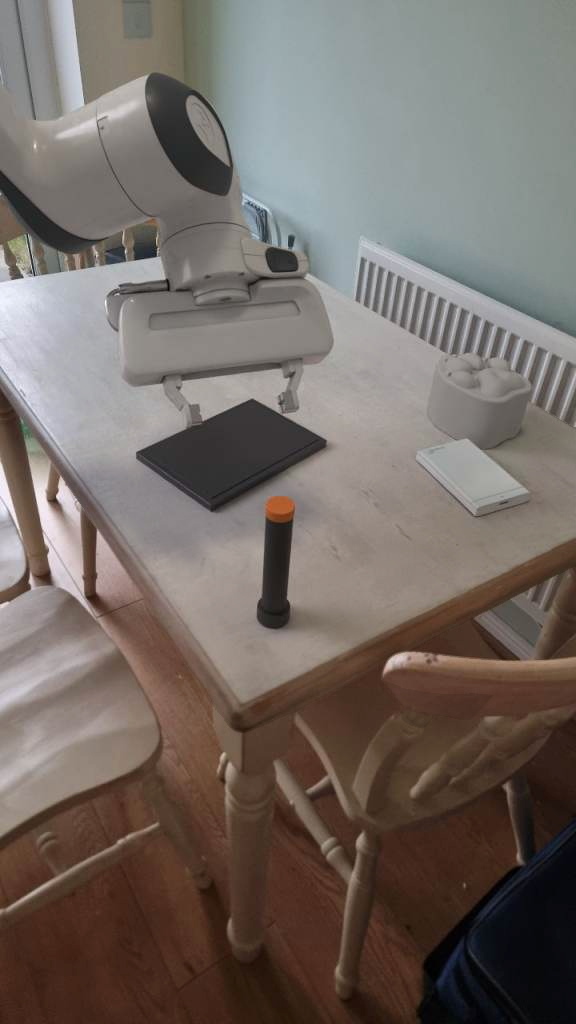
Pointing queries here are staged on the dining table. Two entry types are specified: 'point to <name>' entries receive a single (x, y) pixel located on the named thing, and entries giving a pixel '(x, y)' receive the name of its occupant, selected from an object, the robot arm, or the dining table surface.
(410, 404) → the dining table surface
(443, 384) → the lumpy-topped squat cylinder
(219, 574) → the dining table surface
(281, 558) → the black orange-capped cylinder
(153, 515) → the dining table surface
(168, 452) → the tablet
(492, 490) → the hard drive
